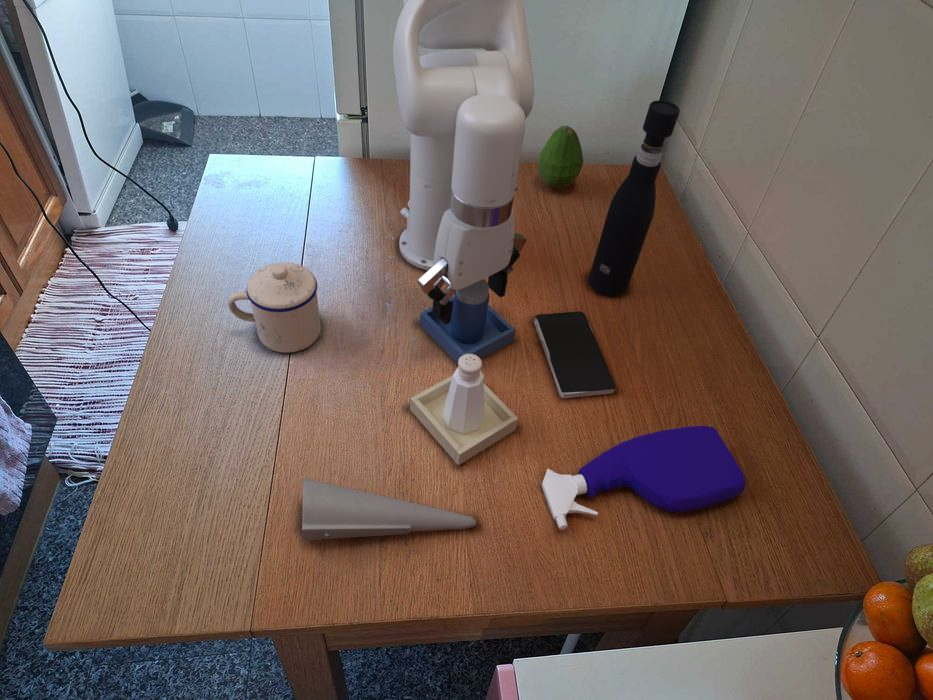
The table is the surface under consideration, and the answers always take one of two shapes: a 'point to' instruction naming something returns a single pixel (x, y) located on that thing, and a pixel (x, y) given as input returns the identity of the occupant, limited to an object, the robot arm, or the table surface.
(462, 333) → the pepper shaker
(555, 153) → the avocado
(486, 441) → the cream tray
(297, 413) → the table surface
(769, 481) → the table surface
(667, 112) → the black bottle
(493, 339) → the blue tray
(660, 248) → the table surface
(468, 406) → the salt shaker
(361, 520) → the grey tapered cone
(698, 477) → the spray bottle
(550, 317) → the smartphone
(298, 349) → the teacup with lid
